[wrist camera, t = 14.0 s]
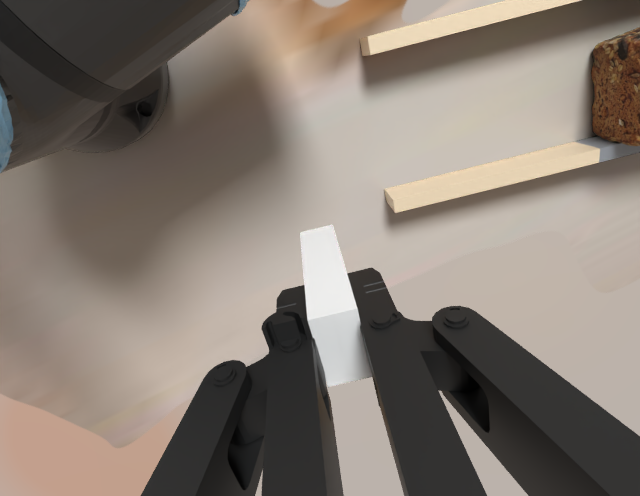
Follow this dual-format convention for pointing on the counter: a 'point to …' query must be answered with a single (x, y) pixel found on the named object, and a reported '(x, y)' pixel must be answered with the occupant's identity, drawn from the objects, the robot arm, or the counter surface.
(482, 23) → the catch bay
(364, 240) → the counter surface
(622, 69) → the bread
